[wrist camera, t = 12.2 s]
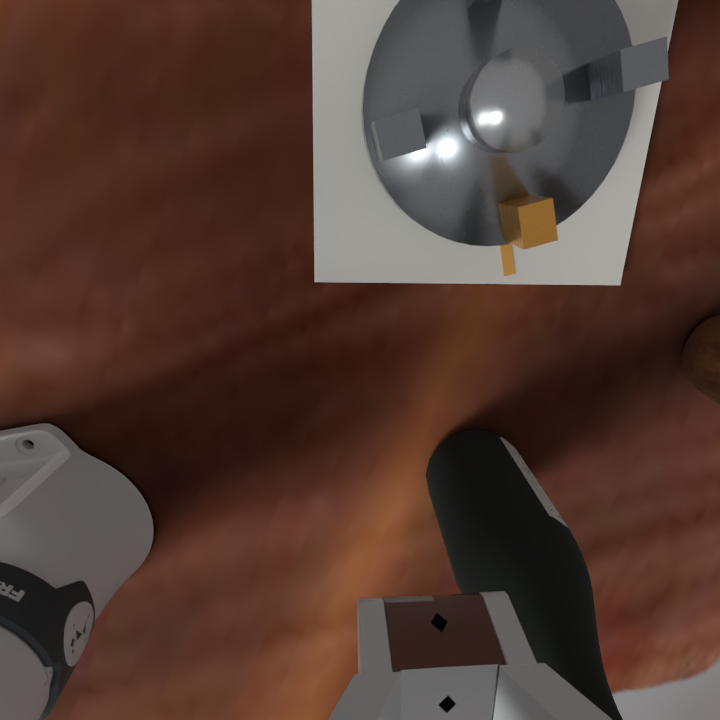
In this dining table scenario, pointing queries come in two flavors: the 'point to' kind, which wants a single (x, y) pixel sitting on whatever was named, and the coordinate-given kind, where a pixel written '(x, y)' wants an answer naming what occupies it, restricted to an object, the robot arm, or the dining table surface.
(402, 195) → the lathe chuck
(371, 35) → the base plate
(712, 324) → the wooden figurine
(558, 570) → the wine bottle
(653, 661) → the dining table surface
